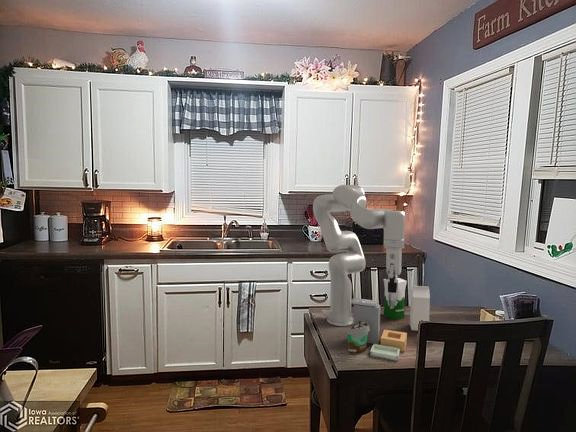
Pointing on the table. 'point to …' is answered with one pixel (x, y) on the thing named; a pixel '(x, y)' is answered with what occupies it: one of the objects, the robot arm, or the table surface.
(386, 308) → the soya milk
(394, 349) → the tray
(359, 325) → the food container
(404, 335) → the hitch
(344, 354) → the table surface
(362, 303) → the keeper plate
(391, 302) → the pin
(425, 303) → the milk carton
